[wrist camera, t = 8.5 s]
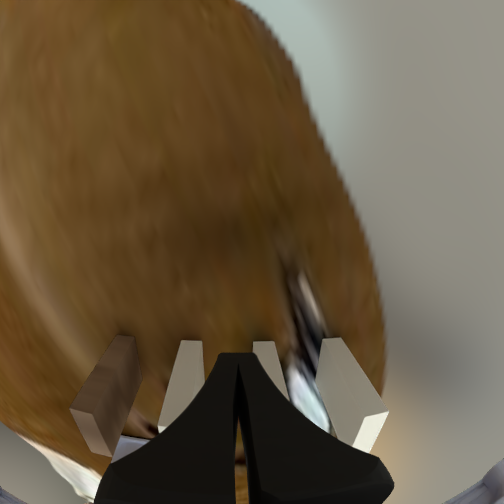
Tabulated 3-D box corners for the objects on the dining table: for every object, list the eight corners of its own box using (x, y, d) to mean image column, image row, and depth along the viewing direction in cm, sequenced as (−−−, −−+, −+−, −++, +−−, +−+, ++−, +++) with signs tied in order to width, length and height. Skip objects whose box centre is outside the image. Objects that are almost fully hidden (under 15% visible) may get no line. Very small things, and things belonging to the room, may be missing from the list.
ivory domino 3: (332, 379, 22) (368, 454, 14) (314, 380, 22) (346, 459, 14) (340, 337, 21) (389, 411, 13) (322, 338, 21) (364, 416, 13)
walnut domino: (142, 379, 21) (112, 457, 12) (125, 376, 21) (91, 451, 12) (134, 336, 20) (92, 414, 11) (116, 334, 20) (69, 408, 11)
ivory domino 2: (270, 383, 22) (287, 468, 13) (251, 384, 22) (260, 470, 13) (274, 341, 21) (296, 427, 12) (253, 341, 21) (265, 429, 12)
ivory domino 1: (204, 383, 22) (196, 469, 13) (186, 383, 22) (170, 467, 13) (201, 341, 21) (187, 428, 12) (181, 340, 20) (157, 425, 12)
